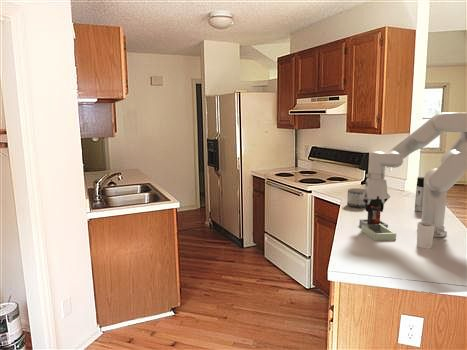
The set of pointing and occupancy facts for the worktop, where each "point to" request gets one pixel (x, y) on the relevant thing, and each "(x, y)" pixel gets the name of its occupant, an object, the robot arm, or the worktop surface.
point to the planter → (355, 198)
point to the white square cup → (425, 234)
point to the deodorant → (374, 212)
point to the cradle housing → (363, 222)
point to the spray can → (419, 194)
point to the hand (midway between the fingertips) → (374, 211)
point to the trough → (385, 234)
